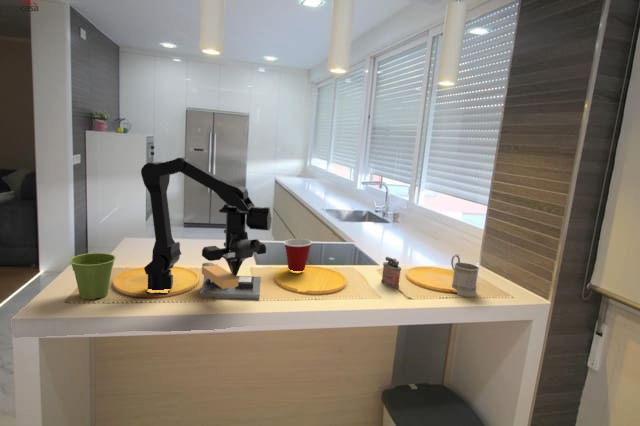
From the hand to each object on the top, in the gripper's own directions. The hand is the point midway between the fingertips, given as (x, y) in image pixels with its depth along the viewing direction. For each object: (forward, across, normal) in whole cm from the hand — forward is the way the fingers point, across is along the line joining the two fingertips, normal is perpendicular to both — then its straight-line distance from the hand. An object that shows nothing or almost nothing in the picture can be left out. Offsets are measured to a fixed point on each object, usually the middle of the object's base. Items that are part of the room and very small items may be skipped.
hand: (234, 277), depth 127 cm
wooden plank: (+1, -3, +5) cm, 6 cm away
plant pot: (+6, -36, +19) cm, 41 cm away
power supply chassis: (+7, +3, +7) cm, 10 cm away
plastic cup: (+8, +32, +14) cm, 36 cm away
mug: (+9, +78, -28) cm, 83 cm away
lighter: (+8, +56, -13) cm, 58 cm away
